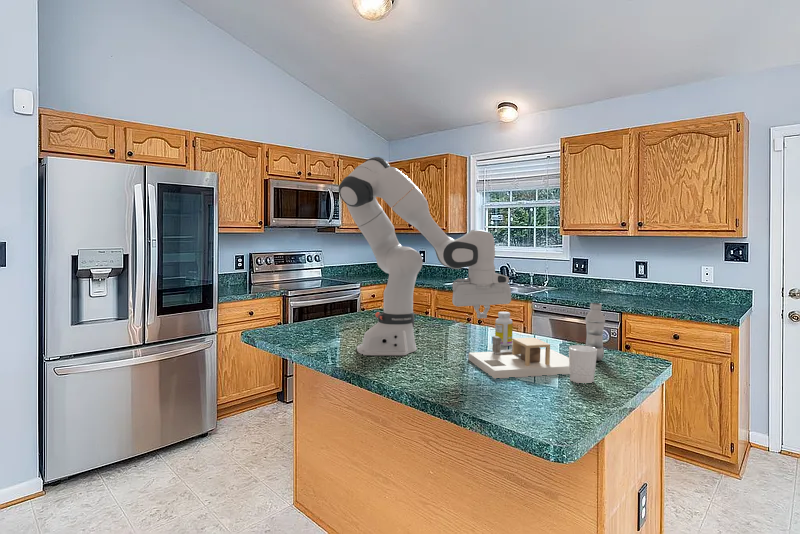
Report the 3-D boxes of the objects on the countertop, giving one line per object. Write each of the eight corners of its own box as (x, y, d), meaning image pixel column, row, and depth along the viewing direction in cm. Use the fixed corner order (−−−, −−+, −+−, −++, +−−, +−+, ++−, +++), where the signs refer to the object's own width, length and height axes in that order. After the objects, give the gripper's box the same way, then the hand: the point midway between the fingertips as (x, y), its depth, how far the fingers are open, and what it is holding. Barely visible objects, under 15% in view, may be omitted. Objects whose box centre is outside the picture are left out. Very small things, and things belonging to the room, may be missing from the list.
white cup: (563, 377, 147) (564, 345, 146) (588, 376, 148) (589, 345, 147) (574, 385, 139) (576, 351, 138) (600, 384, 140) (602, 351, 139)
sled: (511, 363, 152) (511, 346, 151) (492, 352, 166) (492, 336, 166) (540, 361, 154) (540, 344, 154) (518, 350, 168) (519, 335, 168)
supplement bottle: (511, 342, 192) (511, 311, 191) (513, 346, 186) (514, 314, 185) (494, 342, 193) (494, 310, 192) (495, 346, 186) (496, 313, 185)
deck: (494, 378, 145) (495, 349, 144) (468, 359, 166) (469, 334, 165) (585, 372, 151) (586, 345, 151) (549, 355, 173) (549, 330, 172)
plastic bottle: (603, 358, 169) (605, 302, 167) (604, 363, 162) (606, 305, 161) (583, 357, 171) (585, 301, 170) (584, 361, 165) (586, 304, 163)
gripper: (455, 279, 156) (455, 321, 157) (513, 277, 160) (513, 318, 162) (449, 278, 162) (449, 318, 163) (505, 275, 167) (505, 314, 168)
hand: (481, 318), depth 163 cm, fingers closed
